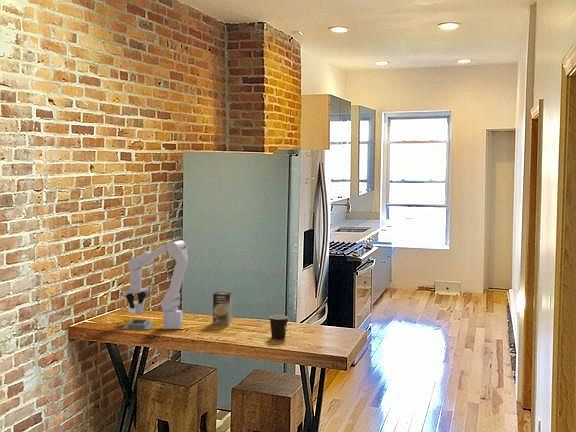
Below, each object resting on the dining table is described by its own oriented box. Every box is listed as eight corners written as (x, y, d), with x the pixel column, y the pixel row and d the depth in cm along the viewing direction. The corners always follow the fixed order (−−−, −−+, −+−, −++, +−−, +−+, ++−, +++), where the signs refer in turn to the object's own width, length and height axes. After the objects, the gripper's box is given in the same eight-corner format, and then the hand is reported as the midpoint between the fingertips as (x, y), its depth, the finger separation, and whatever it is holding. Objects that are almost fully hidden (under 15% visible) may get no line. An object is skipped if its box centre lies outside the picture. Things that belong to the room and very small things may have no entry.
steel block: (143, 312, 337) (143, 303, 337) (135, 314, 334) (135, 304, 333) (135, 310, 342) (135, 301, 341) (128, 311, 339) (128, 302, 338)
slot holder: (155, 323, 338) (155, 318, 338) (149, 330, 325) (150, 325, 325) (128, 323, 338) (128, 318, 338) (121, 329, 325) (121, 324, 325)
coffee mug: (277, 334, 322) (277, 314, 321) (290, 337, 316) (291, 317, 316) (261, 338, 313) (261, 318, 312) (275, 342, 308) (275, 321, 307)
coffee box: (211, 324, 339) (212, 293, 338) (214, 321, 345) (214, 291, 344) (229, 325, 338) (229, 294, 337) (231, 322, 344) (232, 292, 343)
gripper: (143, 278, 344) (143, 304, 345) (119, 281, 334) (119, 308, 335) (151, 280, 339) (151, 306, 340) (126, 283, 329) (126, 310, 330)
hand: (135, 307), depth 337 cm, fingers closed on steel block, 4 cm apart
